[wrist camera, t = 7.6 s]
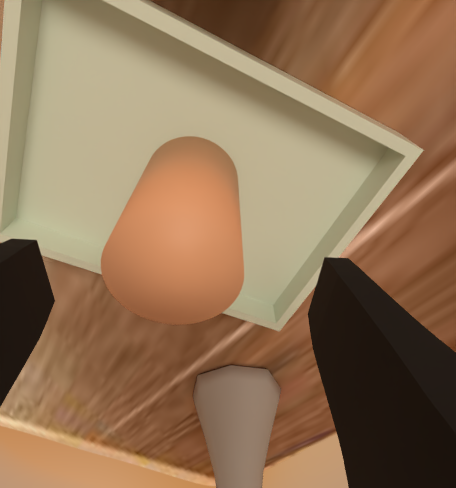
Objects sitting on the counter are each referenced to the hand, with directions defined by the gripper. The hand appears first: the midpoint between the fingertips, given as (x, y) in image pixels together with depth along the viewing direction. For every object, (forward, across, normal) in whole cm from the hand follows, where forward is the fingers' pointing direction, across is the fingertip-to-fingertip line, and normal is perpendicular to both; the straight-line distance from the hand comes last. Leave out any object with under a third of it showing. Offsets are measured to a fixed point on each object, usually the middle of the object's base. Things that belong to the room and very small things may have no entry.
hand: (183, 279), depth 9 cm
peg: (+8, 0, +1) cm, 8 cm away
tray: (+9, 0, +1) cm, 9 cm away
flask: (+10, -3, +20) cm, 22 cm away
